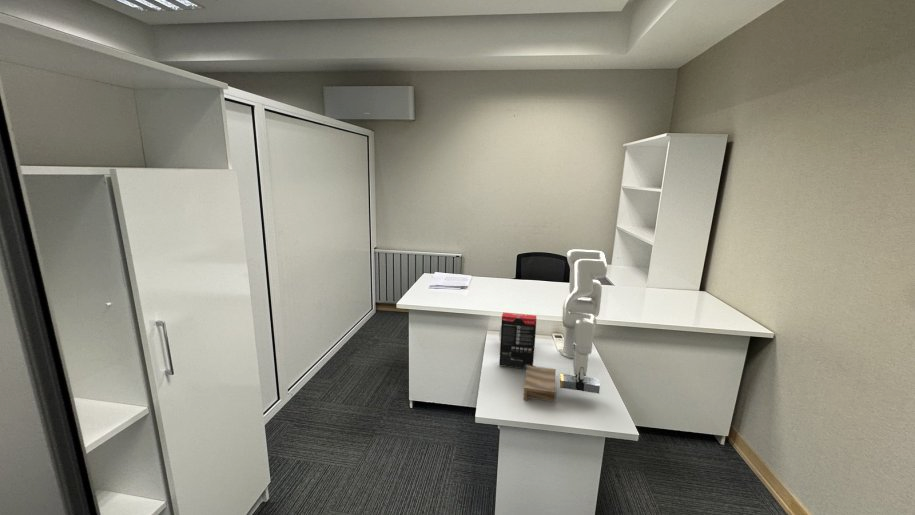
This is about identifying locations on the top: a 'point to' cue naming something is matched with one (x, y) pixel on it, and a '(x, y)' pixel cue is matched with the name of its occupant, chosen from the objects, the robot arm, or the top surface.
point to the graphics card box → (517, 340)
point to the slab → (570, 383)
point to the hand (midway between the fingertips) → (579, 385)
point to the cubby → (540, 383)
